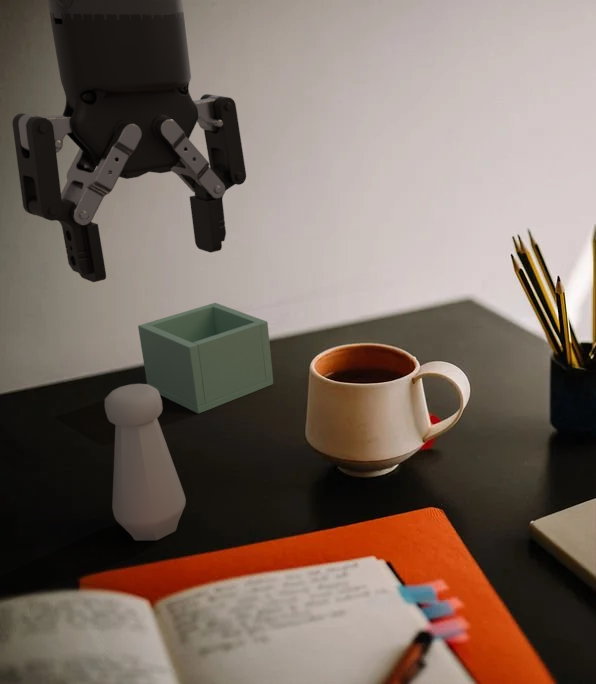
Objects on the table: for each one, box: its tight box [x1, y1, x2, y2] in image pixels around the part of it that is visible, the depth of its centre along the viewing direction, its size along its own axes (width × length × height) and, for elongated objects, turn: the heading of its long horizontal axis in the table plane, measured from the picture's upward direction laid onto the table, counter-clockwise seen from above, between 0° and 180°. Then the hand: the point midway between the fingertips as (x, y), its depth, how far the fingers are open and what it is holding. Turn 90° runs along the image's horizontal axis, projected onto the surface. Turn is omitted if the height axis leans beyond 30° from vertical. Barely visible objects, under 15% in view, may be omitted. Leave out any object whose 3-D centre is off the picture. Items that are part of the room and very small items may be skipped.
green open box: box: [137, 302, 274, 415], centre depth 103 cm, size 10×10×8 cm
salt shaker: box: [104, 383, 187, 541], centre depth 75 cm, size 6×6×13 cm
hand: (153, 263), depth 61 cm, fingers open, 8 cm apart
